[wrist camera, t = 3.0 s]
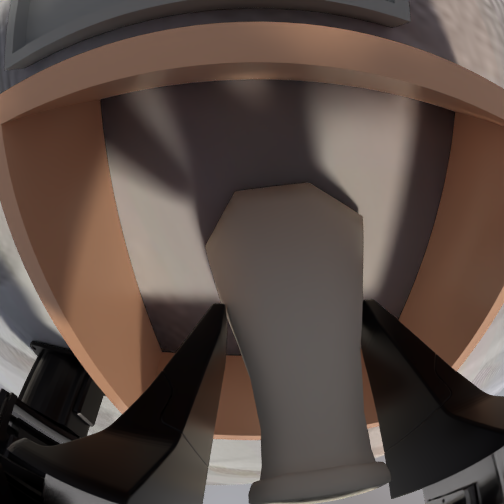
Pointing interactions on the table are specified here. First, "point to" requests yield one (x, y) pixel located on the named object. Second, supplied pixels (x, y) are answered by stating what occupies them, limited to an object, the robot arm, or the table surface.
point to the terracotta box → (216, 69)
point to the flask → (299, 338)
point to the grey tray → (147, 8)
